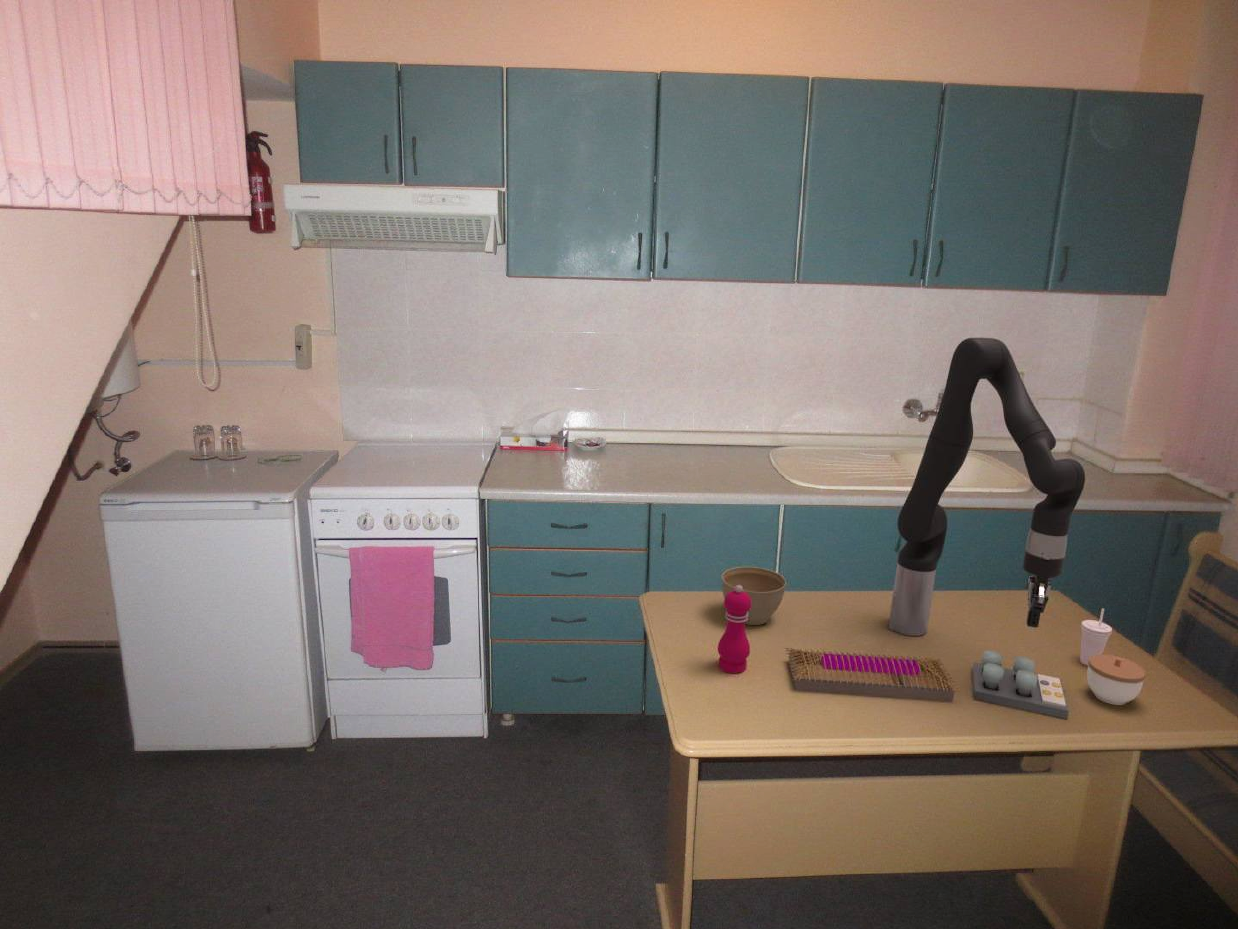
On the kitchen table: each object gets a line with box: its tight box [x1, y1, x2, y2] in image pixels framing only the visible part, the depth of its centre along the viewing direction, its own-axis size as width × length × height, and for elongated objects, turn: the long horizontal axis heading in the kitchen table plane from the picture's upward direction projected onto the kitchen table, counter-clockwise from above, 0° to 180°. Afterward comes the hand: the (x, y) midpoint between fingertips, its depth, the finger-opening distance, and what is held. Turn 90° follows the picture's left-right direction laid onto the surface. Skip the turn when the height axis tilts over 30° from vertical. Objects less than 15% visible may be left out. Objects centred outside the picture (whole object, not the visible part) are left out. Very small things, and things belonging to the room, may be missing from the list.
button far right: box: [1012, 656, 1036, 674], centre depth 182 cm, size 4×4×4 cm
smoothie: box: [1079, 608, 1113, 667], centre depth 194 cm, size 6×6×14 cm
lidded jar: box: [1086, 653, 1147, 706], centre depth 179 cm, size 11×11×9 cm
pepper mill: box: [717, 585, 751, 674], centre depth 184 cm, size 7×7×20 cm
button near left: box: [982, 663, 1004, 689], centre depth 179 cm, size 4×4×4 cm
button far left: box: [981, 649, 1003, 667], centre depth 184 cm, size 4×4×4 cm
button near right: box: [1015, 670, 1037, 696], centre depth 176 cm, size 4×4×4 cm
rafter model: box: [785, 647, 961, 703], centre depth 182 cm, size 35×14×6 cm, turn 86°
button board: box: [972, 661, 1069, 720], centre depth 180 cm, size 18×14×3 cm
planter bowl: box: [721, 566, 787, 626], centre depth 210 cm, size 16×16×11 cm
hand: (1032, 625), depth 179 cm, fingers closed
